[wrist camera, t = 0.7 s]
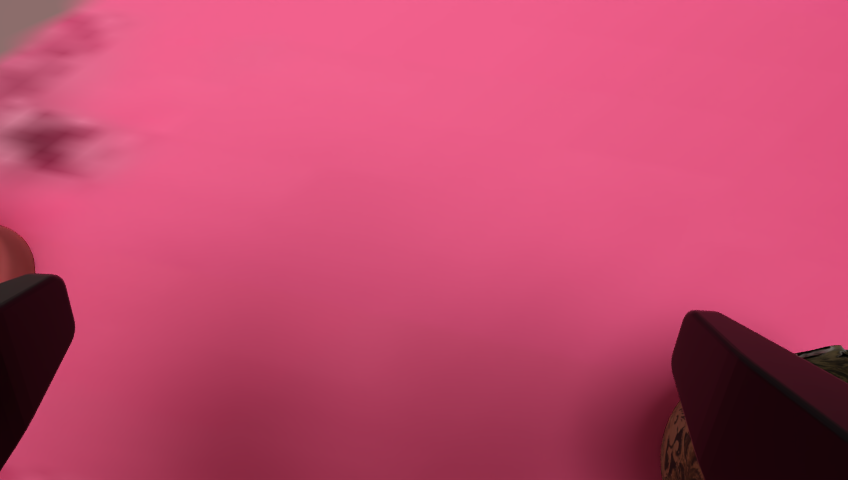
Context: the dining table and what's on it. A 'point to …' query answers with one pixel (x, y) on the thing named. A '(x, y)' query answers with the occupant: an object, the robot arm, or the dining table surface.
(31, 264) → the keyed peg
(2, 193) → the dining table surface
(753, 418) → the robot arm
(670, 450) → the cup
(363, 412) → the dining table surface
